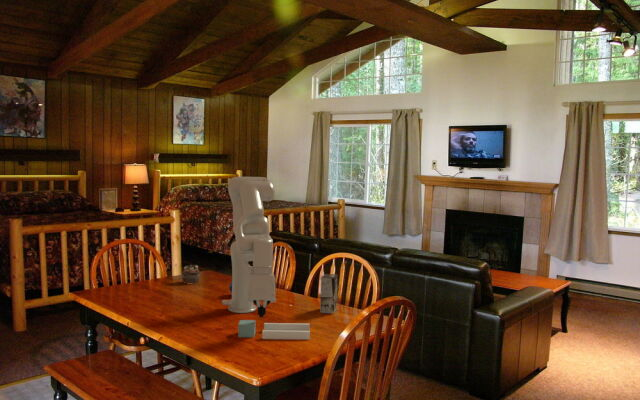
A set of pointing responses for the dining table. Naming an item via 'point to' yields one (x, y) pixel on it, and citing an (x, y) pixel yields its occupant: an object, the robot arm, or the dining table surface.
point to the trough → (286, 331)
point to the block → (246, 328)
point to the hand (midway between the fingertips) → (261, 316)
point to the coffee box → (328, 293)
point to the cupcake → (190, 274)
